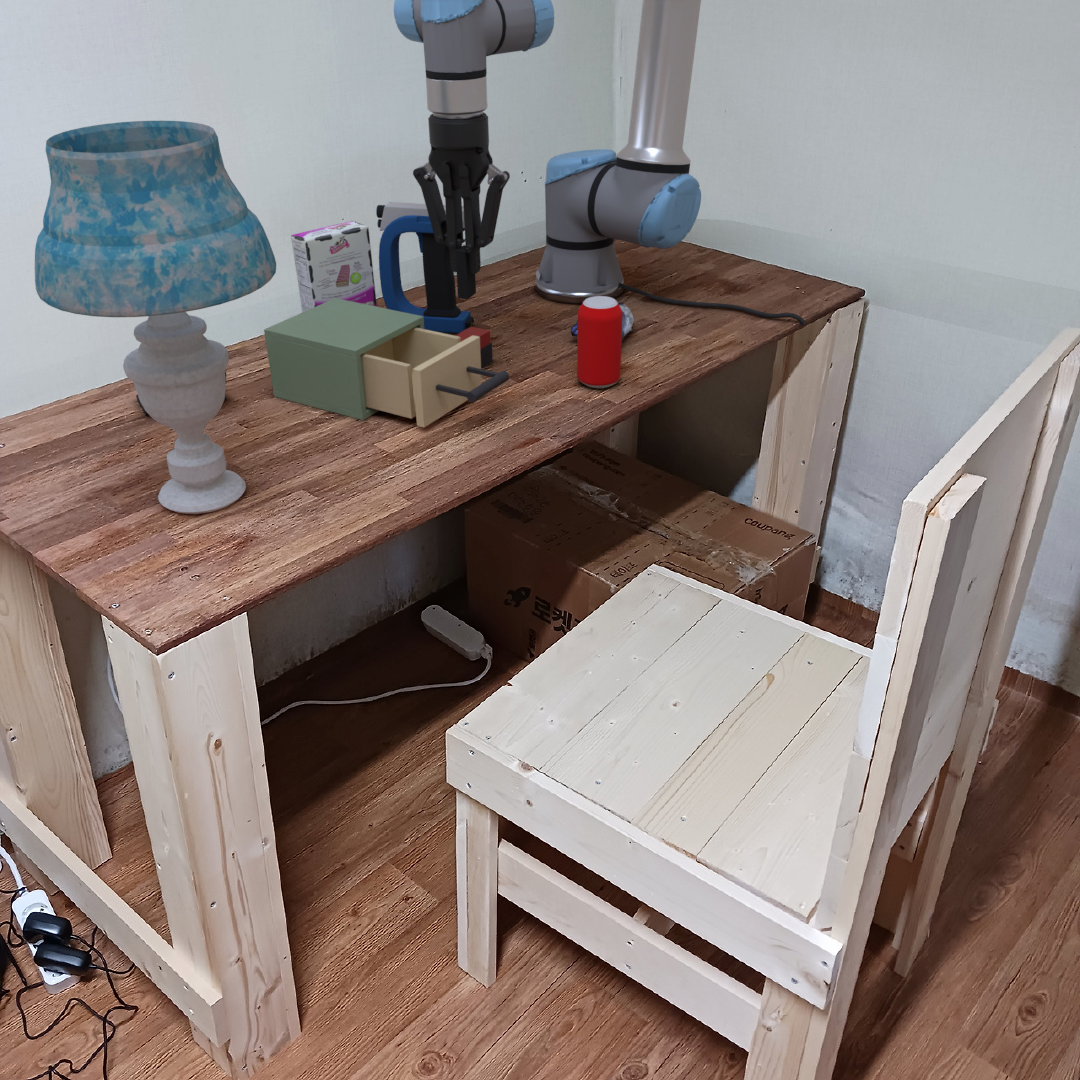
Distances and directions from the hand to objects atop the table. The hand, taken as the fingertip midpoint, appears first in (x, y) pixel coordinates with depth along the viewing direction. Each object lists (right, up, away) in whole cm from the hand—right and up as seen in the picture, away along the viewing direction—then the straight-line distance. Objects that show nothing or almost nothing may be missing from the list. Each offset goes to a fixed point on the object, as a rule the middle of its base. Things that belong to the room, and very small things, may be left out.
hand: (467, 295), depth 146 cm
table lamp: (-29, -28, -21) cm, 46 cm away
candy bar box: (-22, -1, +24) cm, 32 cm away
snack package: (+21, -2, +21) cm, 30 cm away
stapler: (-1, -8, +11) cm, 14 cm away
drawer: (-5, -15, -2) cm, 16 cm away
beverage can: (+18, -11, +6) cm, 22 cm away
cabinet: (-17, -12, +5) cm, 21 cm away
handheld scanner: (-7, +1, +26) cm, 27 cm away
